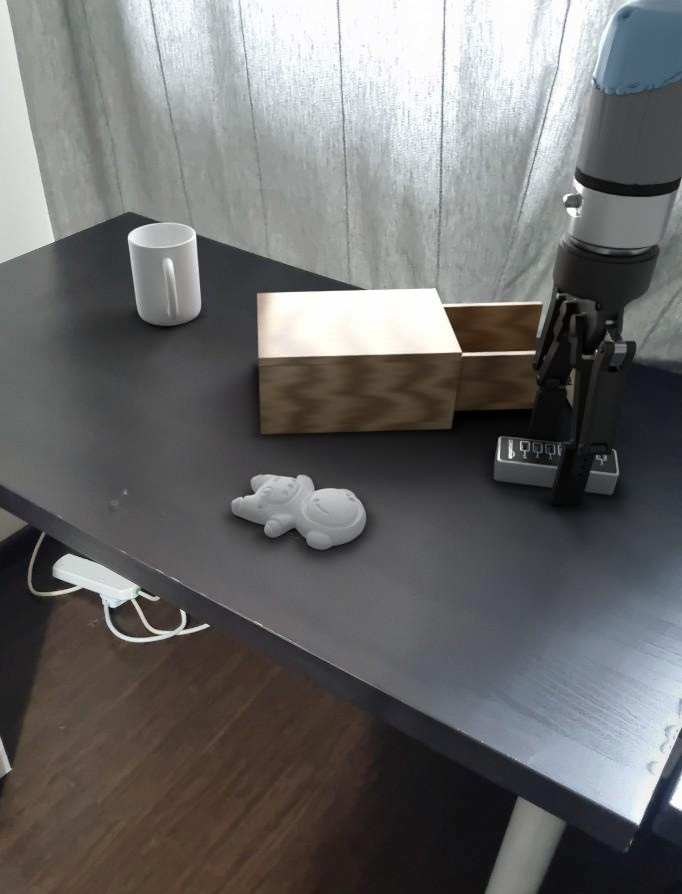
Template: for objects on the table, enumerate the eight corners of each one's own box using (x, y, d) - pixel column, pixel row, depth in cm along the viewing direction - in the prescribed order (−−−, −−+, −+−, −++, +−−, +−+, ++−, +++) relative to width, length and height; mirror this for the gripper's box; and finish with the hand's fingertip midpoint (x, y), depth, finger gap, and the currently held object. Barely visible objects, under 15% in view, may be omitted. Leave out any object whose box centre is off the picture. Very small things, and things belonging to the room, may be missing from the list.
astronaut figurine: (268, 471, 80) (267, 446, 79) (380, 509, 76) (383, 482, 74) (219, 521, 75) (217, 495, 73) (337, 565, 70) (338, 538, 68)
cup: (197, 296, 111) (191, 219, 105) (210, 336, 102) (204, 256, 96) (135, 302, 110) (125, 225, 103) (143, 343, 101) (132, 262, 94)
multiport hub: (613, 495, 77) (619, 475, 75) (493, 480, 79) (497, 460, 77) (610, 468, 80) (616, 448, 79) (494, 454, 82) (498, 435, 81)
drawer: (561, 351, 96) (574, 295, 92) (598, 413, 86) (615, 353, 81) (391, 355, 96) (396, 299, 91) (409, 419, 86) (415, 359, 81)
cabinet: (427, 359, 97) (435, 288, 91) (451, 429, 86) (462, 352, 80) (259, 364, 97) (256, 292, 91) (260, 434, 86) (258, 357, 80)
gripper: (528, 193, 72) (488, 416, 87) (607, 296, 56) (542, 546, 71) (613, 192, 72) (558, 414, 87) (716, 293, 56) (628, 544, 71)
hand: (551, 473), depth 79 cm, fingers open, 8 cm apart
